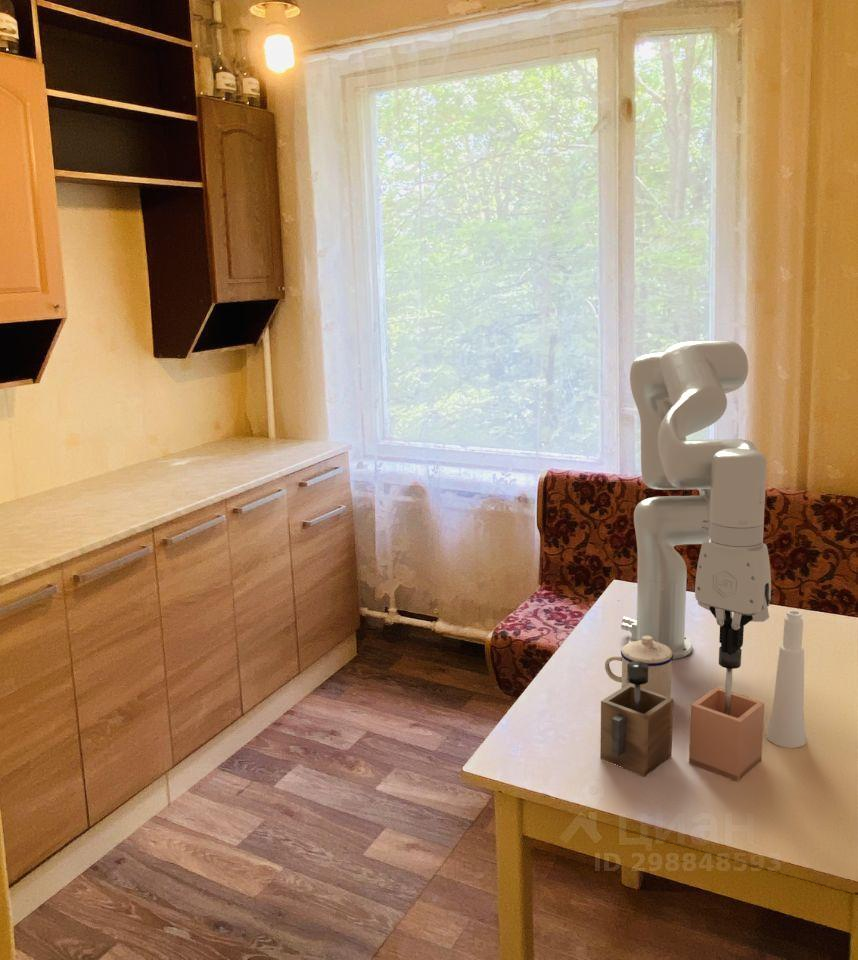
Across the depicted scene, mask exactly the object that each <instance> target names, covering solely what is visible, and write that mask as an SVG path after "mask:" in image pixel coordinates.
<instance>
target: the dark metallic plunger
mask: <svg viewBox="0 0 858 960" xmlns="http://www.w3.org/2000/svg"><path fill="white" fill-rule="evenodd" d="M648 670H649V666H648V664H646V663H644V662H640V661H633V662H630V663H628V664H627V681H628V682H630V683H632V684H635V688H634V711H637V712H640V685H642V684H646V683H647V682H648Z"/></svg>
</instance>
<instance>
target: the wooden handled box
mask: <svg viewBox="0 0 858 960" xmlns="http://www.w3.org/2000/svg"><path fill="white" fill-rule="evenodd" d="M634 688H635V685H632V684H628V685H626V686H624V687H623V688H622V687H621V688H619V689H618V690H616V691H615V692H613V693H611V694H610V695H609V696H606V697H605V698H604V699H602V700H601V701H600V751H599V752H600V756H599V758H601V759H600V760H603V761H605V762H607V761H608V763H610V764H612V763H613V764H612V765H614V764H616V765H615V766H617V765H618V766H617V767H619V766H621V767H623V768H622V769H624V770H626V769H627V771H628V770H629V771H628V772H631V771H632V772H631V773H633V774H635V773H636V774H635V775H638V776H640V777H643V778H646V777H647V776H648V775H650V774H651V773H652V772H653V771H655V770H656V769H657V768H658V767H660V766H661V765H663V764H665V762H666V761H667V760H669V759H670V758H672V757H673V754H672V752H673V730H674V729H673V727H674V725H673V723H674V698H672V697H671V698H670V697H667V696H664V695H661V694H658V693H655V692H652V691H650V690H647V689H644V688H641V687H640V712H637V711H634ZM621 767H620V768H621Z"/></svg>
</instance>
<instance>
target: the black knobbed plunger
mask: <svg viewBox="0 0 858 960" xmlns="http://www.w3.org/2000/svg"><path fill="white" fill-rule="evenodd" d="M718 665H719V666H720V667H722V668H724V669H726V670H725V689H724V690H725V708H724V714H727V715H730V712H731V692H733V690H732V689H733V687H732V686H733V672H734V671H733V670H734V669H739V668H741V665H742V649H741V648H740V649H739V650H737V651H736V652H734V653H733V654H730V653H728V652H723V651H721V646H719V648H718Z"/></svg>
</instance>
